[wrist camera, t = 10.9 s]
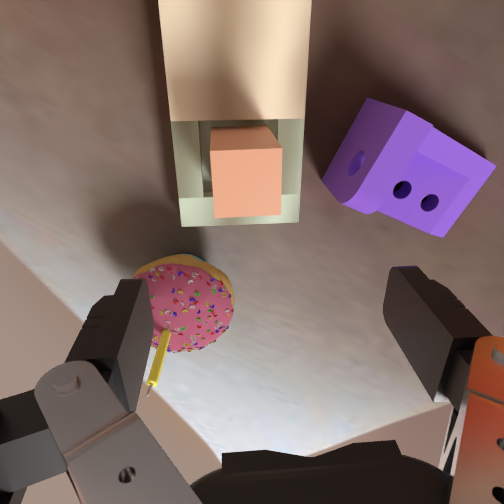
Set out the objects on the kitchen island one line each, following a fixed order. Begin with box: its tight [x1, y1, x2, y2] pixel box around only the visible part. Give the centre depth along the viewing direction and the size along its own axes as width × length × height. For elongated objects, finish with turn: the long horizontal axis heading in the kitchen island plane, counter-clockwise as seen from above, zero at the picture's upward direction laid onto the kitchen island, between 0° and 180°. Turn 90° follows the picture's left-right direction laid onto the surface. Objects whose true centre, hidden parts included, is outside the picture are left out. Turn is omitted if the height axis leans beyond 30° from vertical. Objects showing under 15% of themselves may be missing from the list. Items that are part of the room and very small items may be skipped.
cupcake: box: [133, 254, 234, 397], centre depth 28 cm, size 9×8×12 cm
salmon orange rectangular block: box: [210, 125, 282, 218], centre depth 25 cm, size 4×4×7 cm
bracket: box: [321, 98, 496, 238], centre depth 28 cm, size 12×7×7 cm, turn 65°
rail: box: [158, 0, 311, 227], centre depth 24 cm, size 9×26×2 cm, turn 0°
